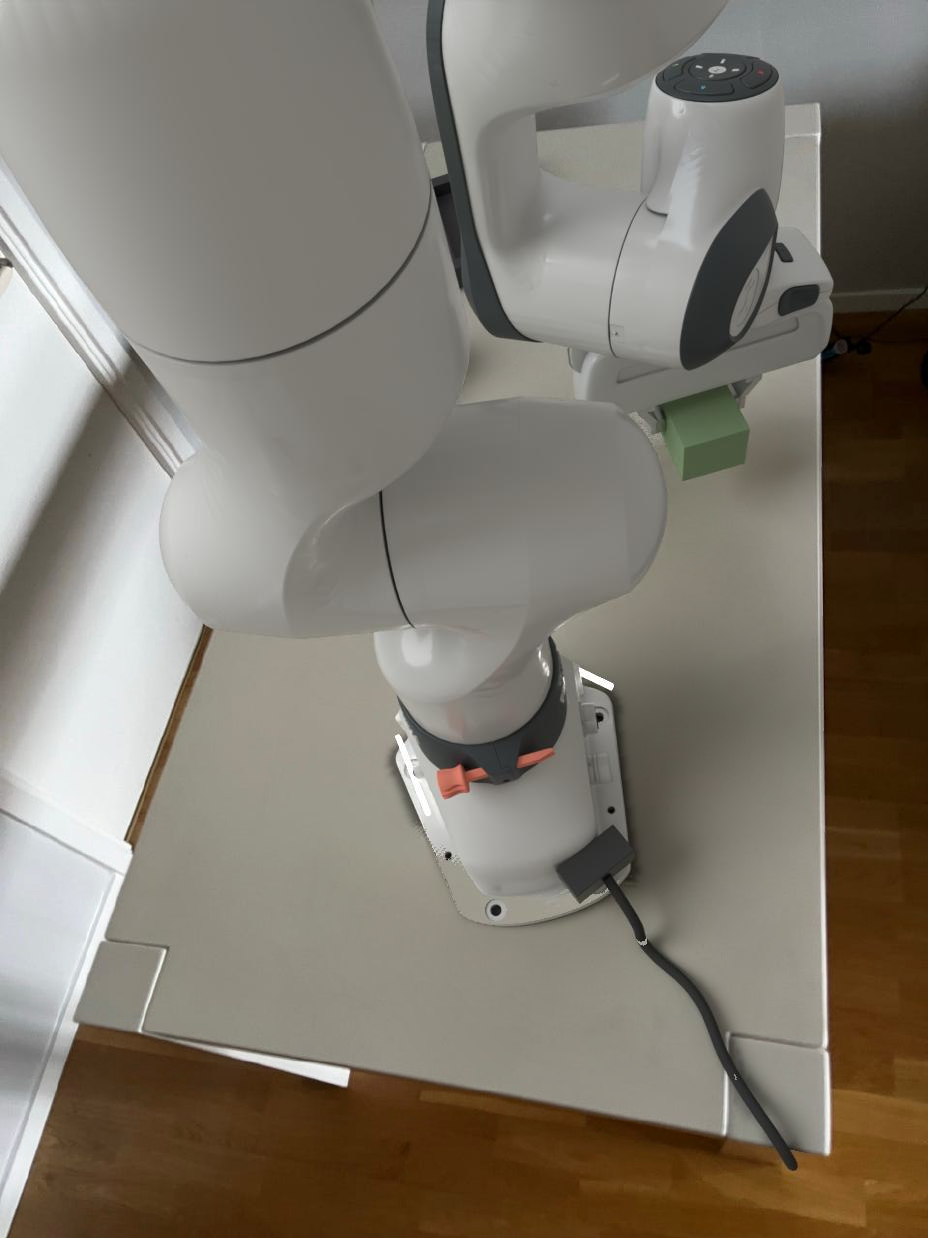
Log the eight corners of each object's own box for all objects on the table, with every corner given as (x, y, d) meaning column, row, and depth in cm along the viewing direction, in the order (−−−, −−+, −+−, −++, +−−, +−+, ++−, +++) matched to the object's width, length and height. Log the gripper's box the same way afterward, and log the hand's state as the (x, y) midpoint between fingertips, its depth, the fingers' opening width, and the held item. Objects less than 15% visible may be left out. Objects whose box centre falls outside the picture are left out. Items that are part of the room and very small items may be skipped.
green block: (744, 463, 74) (750, 428, 71) (682, 481, 75) (684, 448, 71) (704, 381, 80) (706, 344, 76) (645, 398, 80) (645, 363, 76)
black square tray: (552, 258, 98) (550, 238, 96) (450, 290, 99) (445, 271, 97) (517, 171, 106) (513, 151, 103) (422, 202, 107) (417, 182, 104)
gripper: (577, 360, 63) (588, 477, 75) (856, 275, 62) (823, 408, 74) (554, 302, 66) (568, 424, 78) (819, 221, 65) (793, 357, 77)
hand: (694, 416), depth 76 cm, fingers closed on green block, 5 cm apart
